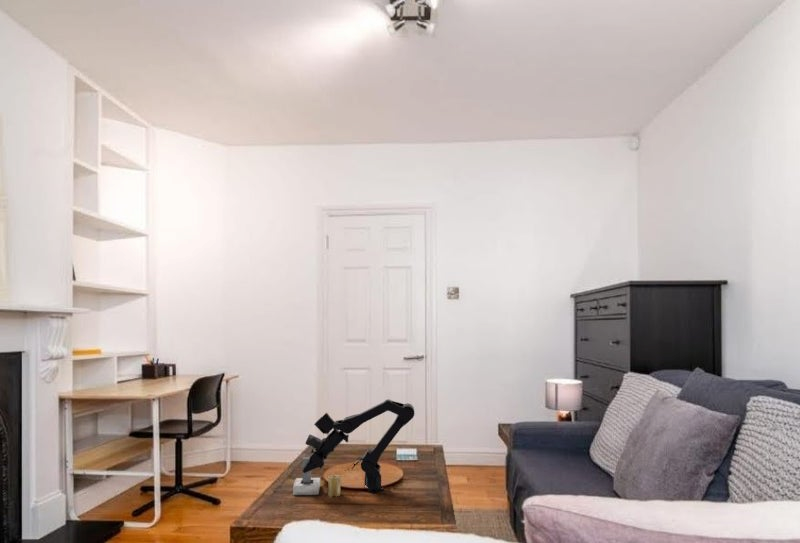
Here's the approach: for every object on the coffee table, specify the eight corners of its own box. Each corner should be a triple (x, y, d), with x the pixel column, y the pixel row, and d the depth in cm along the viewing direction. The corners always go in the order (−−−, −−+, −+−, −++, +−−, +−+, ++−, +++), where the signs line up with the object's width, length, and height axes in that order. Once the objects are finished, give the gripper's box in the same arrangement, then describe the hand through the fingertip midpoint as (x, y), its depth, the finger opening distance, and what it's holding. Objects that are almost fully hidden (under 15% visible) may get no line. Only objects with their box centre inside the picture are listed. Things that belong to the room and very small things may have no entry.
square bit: (311, 488, 214) (310, 456, 215) (310, 491, 210) (310, 458, 212) (303, 489, 213) (303, 456, 214) (302, 492, 210) (302, 459, 211)
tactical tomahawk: (356, 474, 237) (357, 471, 237) (343, 471, 239) (343, 469, 239) (370, 460, 257) (370, 458, 257) (357, 458, 259) (358, 456, 259)
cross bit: (343, 494, 207) (343, 476, 208) (333, 497, 204) (334, 479, 204) (334, 491, 211) (334, 473, 211) (325, 494, 207) (325, 476, 207)
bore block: (320, 486, 217) (320, 477, 218) (318, 494, 207) (318, 485, 208) (296, 486, 216) (296, 478, 217) (293, 495, 207) (293, 486, 207)
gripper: (319, 423, 223) (292, 450, 222) (315, 433, 205) (286, 462, 203) (337, 441, 223) (311, 468, 222) (335, 453, 205) (306, 483, 203)
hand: (303, 470), depth 212 cm, fingers open, 5 cm apart
